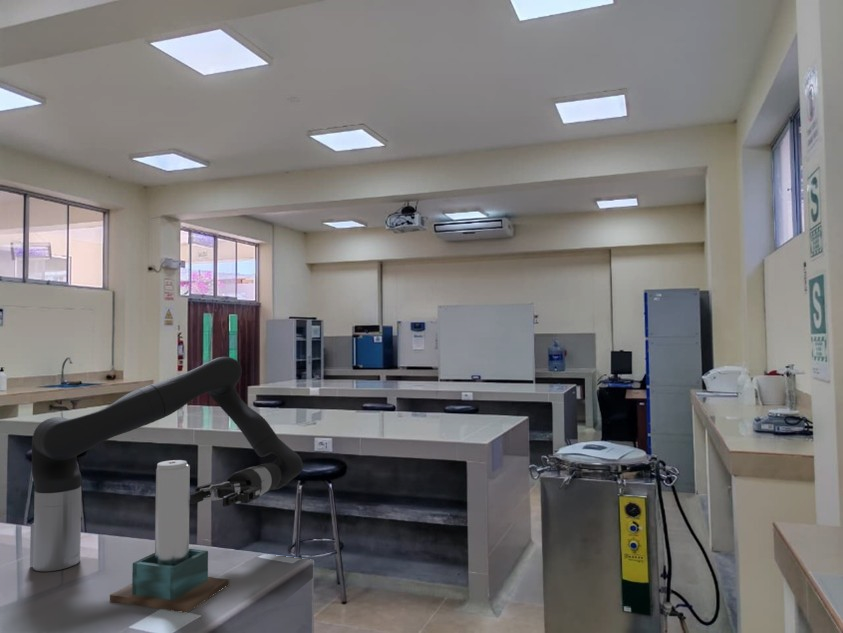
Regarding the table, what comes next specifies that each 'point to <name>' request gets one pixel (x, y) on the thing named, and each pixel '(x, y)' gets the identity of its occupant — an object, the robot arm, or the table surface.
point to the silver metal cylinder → (172, 512)
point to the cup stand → (170, 583)
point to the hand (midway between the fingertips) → (207, 500)
